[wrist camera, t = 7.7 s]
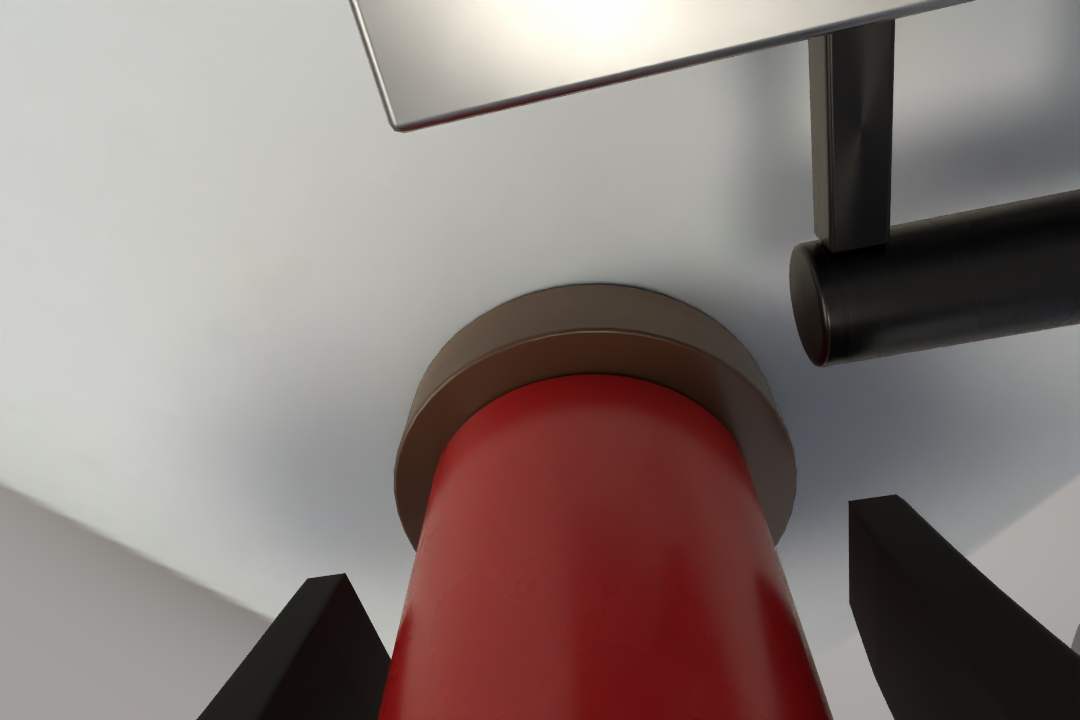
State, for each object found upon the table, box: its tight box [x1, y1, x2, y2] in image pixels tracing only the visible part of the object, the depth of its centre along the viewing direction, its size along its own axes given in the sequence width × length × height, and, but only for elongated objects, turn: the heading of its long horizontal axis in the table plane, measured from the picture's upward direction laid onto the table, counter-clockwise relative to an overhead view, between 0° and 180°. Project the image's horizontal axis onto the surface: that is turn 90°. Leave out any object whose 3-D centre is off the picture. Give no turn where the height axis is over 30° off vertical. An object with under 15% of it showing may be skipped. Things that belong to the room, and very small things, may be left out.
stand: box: [394, 285, 797, 552], centre depth 12 cm, size 7×7×2 cm
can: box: [377, 374, 833, 720], centre depth 9 cm, size 5×5×7 cm
